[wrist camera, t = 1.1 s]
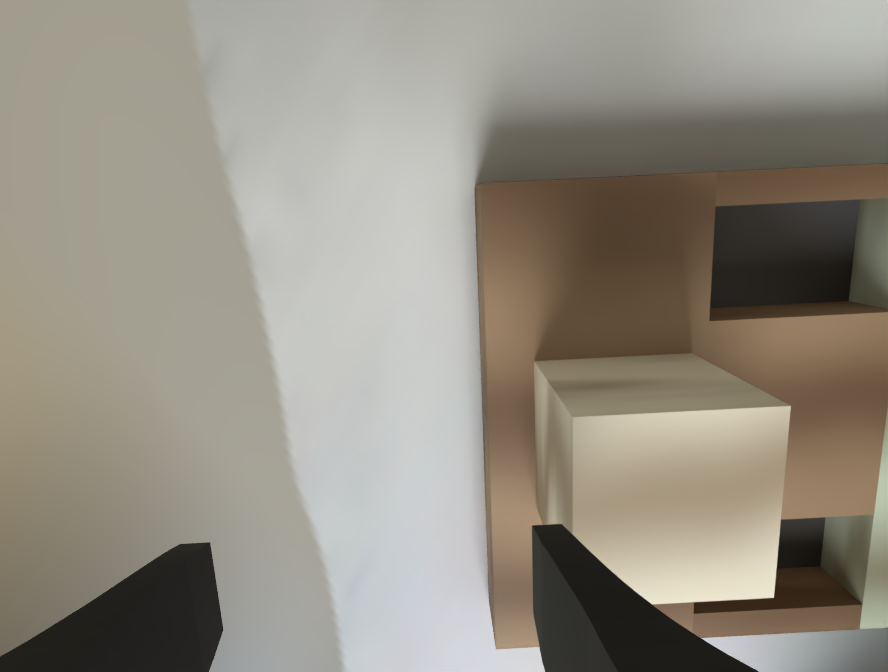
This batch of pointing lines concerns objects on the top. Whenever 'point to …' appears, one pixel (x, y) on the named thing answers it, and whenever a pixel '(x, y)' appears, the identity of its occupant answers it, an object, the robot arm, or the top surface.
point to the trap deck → (703, 357)
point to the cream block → (664, 472)
